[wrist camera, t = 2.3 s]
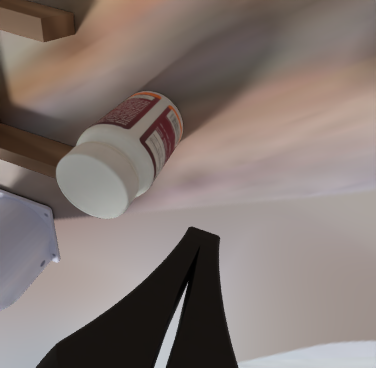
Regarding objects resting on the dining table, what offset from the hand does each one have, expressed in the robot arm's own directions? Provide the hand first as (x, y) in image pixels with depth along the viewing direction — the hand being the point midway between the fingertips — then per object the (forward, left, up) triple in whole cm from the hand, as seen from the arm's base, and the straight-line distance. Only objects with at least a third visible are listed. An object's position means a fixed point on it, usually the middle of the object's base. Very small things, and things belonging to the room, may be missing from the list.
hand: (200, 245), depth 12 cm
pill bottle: (0, +6, -10) cm, 11 cm away
